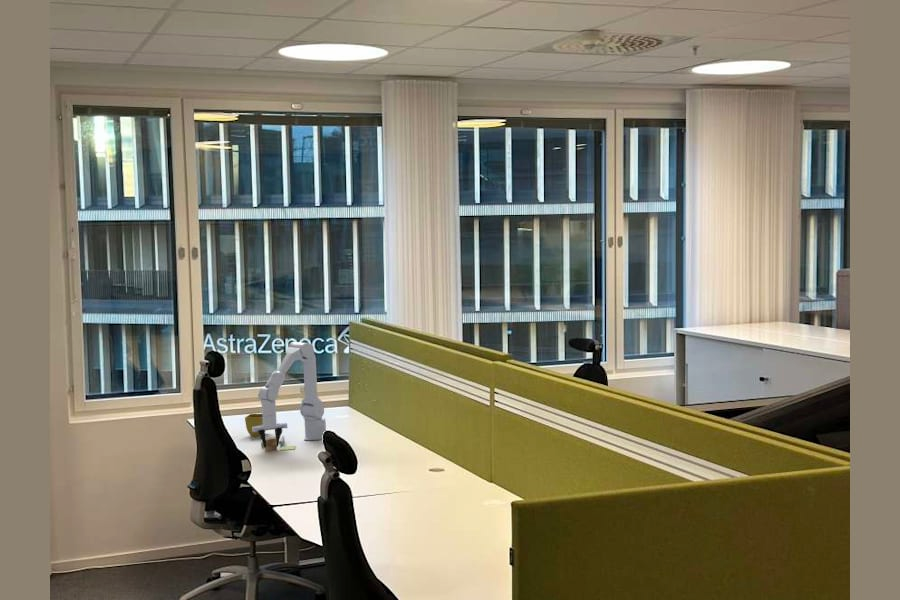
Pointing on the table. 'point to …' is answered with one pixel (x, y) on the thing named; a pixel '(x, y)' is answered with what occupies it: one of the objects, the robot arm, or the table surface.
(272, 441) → the block
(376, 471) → the table surface
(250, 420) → the flower pot
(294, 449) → the coaster
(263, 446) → the goalpost shaped bracket
